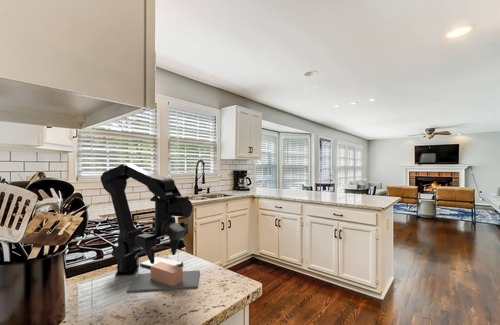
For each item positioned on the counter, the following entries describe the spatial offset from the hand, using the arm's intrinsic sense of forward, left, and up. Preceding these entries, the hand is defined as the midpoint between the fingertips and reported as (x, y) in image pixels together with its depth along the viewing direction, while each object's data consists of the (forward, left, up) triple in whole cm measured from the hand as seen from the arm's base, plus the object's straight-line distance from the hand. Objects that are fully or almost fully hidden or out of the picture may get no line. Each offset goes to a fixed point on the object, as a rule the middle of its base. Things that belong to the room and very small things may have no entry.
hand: (163, 259), depth 87 cm
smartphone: (-3, +13, -8) cm, 16 cm away
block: (-3, +2, -5) cm, 6 cm away
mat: (+1, -1, -8) cm, 8 cm away
